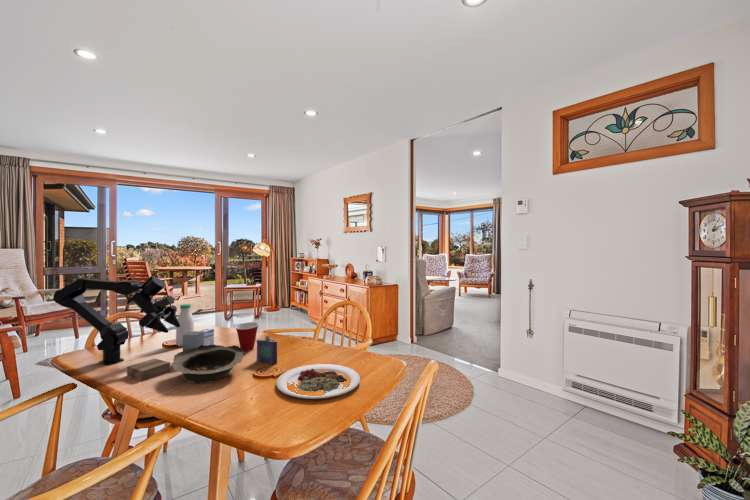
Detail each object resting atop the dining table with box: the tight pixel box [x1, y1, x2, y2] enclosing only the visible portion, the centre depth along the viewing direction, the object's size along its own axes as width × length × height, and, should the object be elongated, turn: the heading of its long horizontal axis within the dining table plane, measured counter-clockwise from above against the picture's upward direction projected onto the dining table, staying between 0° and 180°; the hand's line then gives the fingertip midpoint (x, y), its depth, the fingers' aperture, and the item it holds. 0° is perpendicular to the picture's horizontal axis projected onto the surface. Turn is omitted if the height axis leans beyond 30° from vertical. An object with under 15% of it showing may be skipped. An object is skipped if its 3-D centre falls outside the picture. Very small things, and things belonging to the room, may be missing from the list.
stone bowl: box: [170, 344, 244, 385], centre depth 124 cm, size 25×25×9 cm
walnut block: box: [126, 358, 171, 382], centre depth 125 cm, size 10×10×4 cm
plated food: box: [276, 363, 361, 400], centre depth 119 cm, size 30×30×3 cm
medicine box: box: [201, 328, 215, 346], centre depth 157 cm, size 8×4×9 cm, turn 168°
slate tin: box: [182, 330, 204, 352], centre depth 140 cm, size 6×6×12 cm
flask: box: [256, 334, 278, 365], centre depth 139 cm, size 10×3×12 cm, turn 71°
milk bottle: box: [175, 303, 195, 347], centre depth 163 cm, size 8×8×20 cm
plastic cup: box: [234, 321, 260, 352], centre depth 156 cm, size 11×11×12 cm
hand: (173, 329), depth 139 cm, fingers open, 9 cm apart
